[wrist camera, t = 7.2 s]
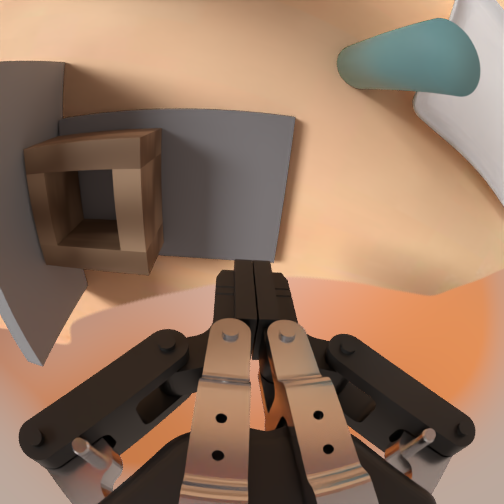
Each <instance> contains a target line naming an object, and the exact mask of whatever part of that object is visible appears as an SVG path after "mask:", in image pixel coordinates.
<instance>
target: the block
mask: <svg viewBox="0 0 504 504" xmlns="http://www.w3.org/2000/svg"><path fill="white" fill-rule="evenodd" d="M161 140H162V128H148V129H125V130H110V131H98V132H88V133H79V134H71V135H63V136H57V137H55V138H52V139H49V140H46V141H44V142H41V143H38V144H36V145H33V146H31V147H28V148H26V149H23V150H24V160H25V169H26V177H27V184H28V190H29V196H30V201H31V207H32V212H33V216H34V221H35V225H36V230H37V234H38V238H39V241H40V245H41V249H42V252H43V256H44V259H45V263H46V265H52V266H61V267H70V268H79V269H88V270H97V271H107V272H117V273H128V274H139V275H149V274H150V272H151V270H152V267H153V265H154V263H155V261H156V258H157V256H158V254H159V252H160V250H161V248H162V245H163V243H164V237H163V218H162V187H161ZM105 169H112V175H113V188H114V200H115V209H116V218H117V220H104V219H84V216H83V209H82V203H81V195H80V187H79V178H78V171H81V170H105Z"/></svg>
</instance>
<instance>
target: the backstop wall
mask: <svg viewBox="0 0 504 504" xmlns="http://www.w3.org/2000/svg"><path fill="white" fill-rule="evenodd" d="M64 66H65V62H52V61H3V62H0V315H1V317H2V319H3V320H4V322H5V324H6V326H7V328H8V330H9V331H10V333H11V335H12V336H13V338H14V340H15V341H16V343H17V345H18V346H19V348H20V349H21V351H22V353H23V354H24V356H25V357H26V359H27V360H28V361H29V362H31V363H34V364H37V365H40V366H44V363H45V361H46V359H47V357H48V355H49V353H50V351H51V349H52V348H53V345H54V344H55V342H56V340H57V338H58V336H59V334H60V332H61V331H62V329H63V327H64V325H65V323H66V322H67V320H68V318H69V316H70V315H71V313H72V311H73V309H74V308H75V306H76V304H77V303H78V301H79V299H80V298H81V296H82V294H83V293H84V291H85V290H86V288H87V286H88V284H87V281H86V277H85V273H84V270H83V269H79V268H70V267H61V266H52V265H46V263H45V259H44V256H43V252H42V249H41V245H40V241H39V238H38V234H37V230H36V225H35V221H34V216H33V212H32V207H31V201H30V196H29V190H28V184H27V177H26V169H25V160H24V150H23V149H26V148H28V147H31V146H33V145H36V144H38V143H41V142H44V141H46V140H49V139H52V138H55V137H57V136H60V132H59V120H60V119H63V80H64Z"/></svg>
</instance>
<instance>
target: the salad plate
mask: <svg viewBox="0 0 504 504" xmlns="http://www.w3.org/2000/svg"><path fill="white" fill-rule="evenodd" d="M449 21H452V22H453V23H455V24H456V25H458V26H459V27H460V28H461V29H462V30H463V31H464V32H465V33H466V34H467V35H468V36H469V38H470V39H471V41H472V43H473V44H474V46H475V49H476V51H477V54H478V57H479V61H480V80H479V83H478V86H477V88H476V89H475V90H474V92H473V93H471V94H470V95H468V96H464V97H458V96H452V95H445V94H437V93H428V92H417V91H416V93H415V95H414V98H413V109H414V111H415V113H416V115H417V116H418V117H419V118H420V119H421V120H422V121H424V122H425V123H426V124H427V125H428V126H429V127H430V128H432V129H433V130H434V131H435V132H436V133H437V134H439V135H440V136H441V137H442V138H443V139H445V140H446V141H447V142H448V143H449V144H450V145H451V146H453V147H454V148H455V149H456V150H457V151H458V152H459V153H460V154H461V155H462V156H463V157H464V158H465V159H466V160H467V161H468V162H469V163H470V164H471V165H472V166H473V167H474V168H475V169H476V170H477V171H478V172H479V174H480V175H481V176H482V177H483V178H484V180H485V181H486V182H487V184H488V185H489V186H490V188H491V189H492V190H493V192H494V193H495V195H496V196H497V198H498V199H499V201H500V202H501V204H502V205H503V207H504V10H503V8H502V7H501V6H500V5H499V3H498V2H497V1H496V0H455V2H454V5H453V8H452V11H451V14H450V17H449Z"/></svg>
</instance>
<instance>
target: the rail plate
mask: <svg viewBox="0 0 504 504" xmlns="http://www.w3.org/2000/svg"><path fill="white" fill-rule="evenodd" d="M294 124H295V117H292V116H285V115H277V114H269V113H259V112H248V111H236V110H218V109H146V110H129V111H117V112H106V113H98V114H89V115H82V116H75V117H69V118H64V119H60V120H59V132H60V136H63V135H71V134H79V133H88V132H98V131H110V130H125V129H148V128H162V140H161V187H162V218H163V237H164V243H163V245H162V248H161V250H160V252H159V254H158V255H164V256H179V257H193V258H208V259H224V260H235V259H245V260H252V261H253V260H264V261H270V262H272V263H274V259H275V253H276V246H277V240H278V234H279V228H280V221H281V215H282V208H283V202H284V195H285V188H286V182H287V175H288V168H289V161H290V154H291V146H292V139H293V132H294ZM78 178H79V187H80V195H81V203H82V209H83V216H84V219H104V220H117V218H116V209H115V200H114V188H113V175H112V169H105V170H81V171H78Z"/></svg>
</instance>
